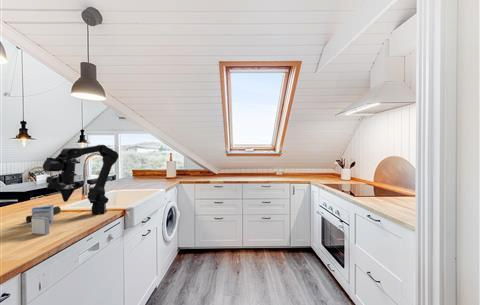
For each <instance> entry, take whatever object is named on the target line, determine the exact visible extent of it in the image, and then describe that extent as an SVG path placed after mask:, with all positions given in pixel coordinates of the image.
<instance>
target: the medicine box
mask: <svg viewBox="0 0 480 305" xmlns="http://www.w3.org/2000/svg"><path fill="white" fill-rule="evenodd" d="M53 207H54V204H49V205H40V206H34V207H32V208H31V215H32V218H33V217H45V218H49V224H50V223H51V224H52V222H54V218H55V217H54V215H53Z"/></svg>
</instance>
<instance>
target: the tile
mask: <svg viewBox="0 0 480 305" xmlns="http://www.w3.org/2000/svg"><path fill="white" fill-rule="evenodd" d="M30 226H31V235H38V236H40V235H41V236H48V235H50V223H49V218H45V217H33V218H31V224H30Z"/></svg>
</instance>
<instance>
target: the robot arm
mask: <svg viewBox="0 0 480 305" xmlns="http://www.w3.org/2000/svg"><path fill="white" fill-rule="evenodd" d="M94 153H99V155H100V156H101V157H102V166H101V169H100V171H99V174H98V176H97V179H96V182H95V185H94V186H93V187H90V188H89V189H88V192H87V193H86V195H87V199H88V201H89V202H90V204H92V206H91V214H90V215H91V216H94V215H104V214H105V213H107V212H108V210H107V203H109V198H108V197H107V196H106V190H105V186H106V183H107V181H108V178H109V175H110V172H111V170H112V167H113V165H114V164H116V162H117V161H118V159H119V156H120V155H119V153H118V152H117V151H115V150H113V149H112V148H110V147H108V146H107V145H105V144H96V145H91V146H86V147H85V146H84V147H70V148H69V147H67V148H66V147H65V148H62V149H61V151H60V153H59V154H58V155H57V156H56V157H55V158H54V157H46V160H44V162H43V164H42V169H43V171H44V172H60V173H58V174H57V176H55V177H53V175H51V176H47V177H46V179H45V183H47V185H46V189H49V190H50V189H51V190H58V191H59V192H60V194H61V198H62V200H63V203H66V202H68V200H69V199H70V197H71V196H72V194H73V193H74V192H75V190H77V187H80V188H83V187H85V186H84V184H85V182H84V181H75V177H76V176H77V175H78V173H75V172H76V164H81V162H80V161H79V160H78V158H81V157H82V156H84V155H89V154H94Z"/></svg>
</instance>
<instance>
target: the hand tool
mask: <svg viewBox="0 0 480 305" xmlns="http://www.w3.org/2000/svg"><path fill="white" fill-rule="evenodd" d="M61 212H62V210H61V207H60V206H58V205H57V206H53V216H56V215H60V213H61ZM31 218H32V214H30V215H26V217H25V222H26V223H29V224H30V223H31Z"/></svg>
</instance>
